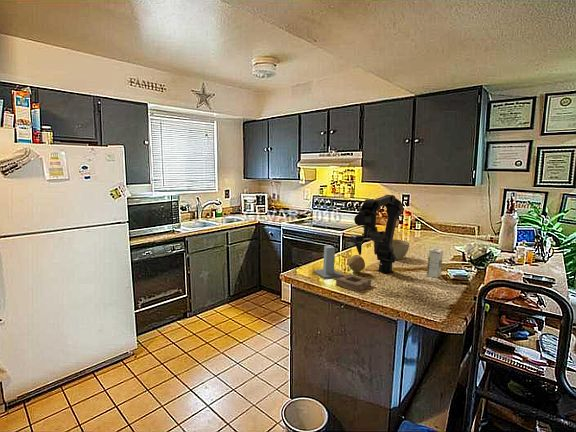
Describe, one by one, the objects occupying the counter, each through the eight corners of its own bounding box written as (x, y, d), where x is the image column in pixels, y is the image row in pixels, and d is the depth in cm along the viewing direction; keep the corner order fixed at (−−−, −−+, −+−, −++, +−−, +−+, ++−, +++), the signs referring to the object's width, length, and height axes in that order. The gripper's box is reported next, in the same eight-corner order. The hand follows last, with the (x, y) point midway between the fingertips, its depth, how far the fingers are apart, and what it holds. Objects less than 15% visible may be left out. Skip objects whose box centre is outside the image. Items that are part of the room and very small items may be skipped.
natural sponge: (343, 272, 180) (344, 254, 178) (354, 269, 186) (355, 252, 184) (357, 276, 173) (358, 257, 172) (367, 273, 179) (368, 255, 177)
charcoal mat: (332, 270, 183) (332, 268, 182) (344, 276, 172) (344, 274, 172) (313, 272, 178) (313, 270, 178) (324, 279, 167) (324, 277, 167)
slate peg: (330, 271, 177) (332, 245, 175) (333, 273, 173) (334, 247, 171) (323, 271, 176) (324, 246, 174) (325, 274, 172) (326, 248, 170)
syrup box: (429, 273, 180) (431, 248, 178) (441, 276, 177) (443, 249, 175) (426, 276, 176) (428, 249, 174) (438, 278, 172) (440, 251, 170)
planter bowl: (398, 262, 201) (399, 245, 200) (377, 256, 214) (378, 240, 213) (413, 259, 211) (414, 242, 209) (392, 253, 224) (393, 238, 222)
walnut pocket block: (349, 279, 167) (350, 274, 167) (370, 285, 159) (371, 279, 158) (336, 285, 158) (336, 279, 158) (357, 291, 150) (357, 285, 150)
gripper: (362, 227, 154) (360, 259, 156) (395, 226, 160) (393, 257, 162) (350, 223, 164) (348, 254, 166) (381, 223, 171) (379, 252, 172)
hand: (367, 254), depth 166 cm, fingers open, 9 cm apart
